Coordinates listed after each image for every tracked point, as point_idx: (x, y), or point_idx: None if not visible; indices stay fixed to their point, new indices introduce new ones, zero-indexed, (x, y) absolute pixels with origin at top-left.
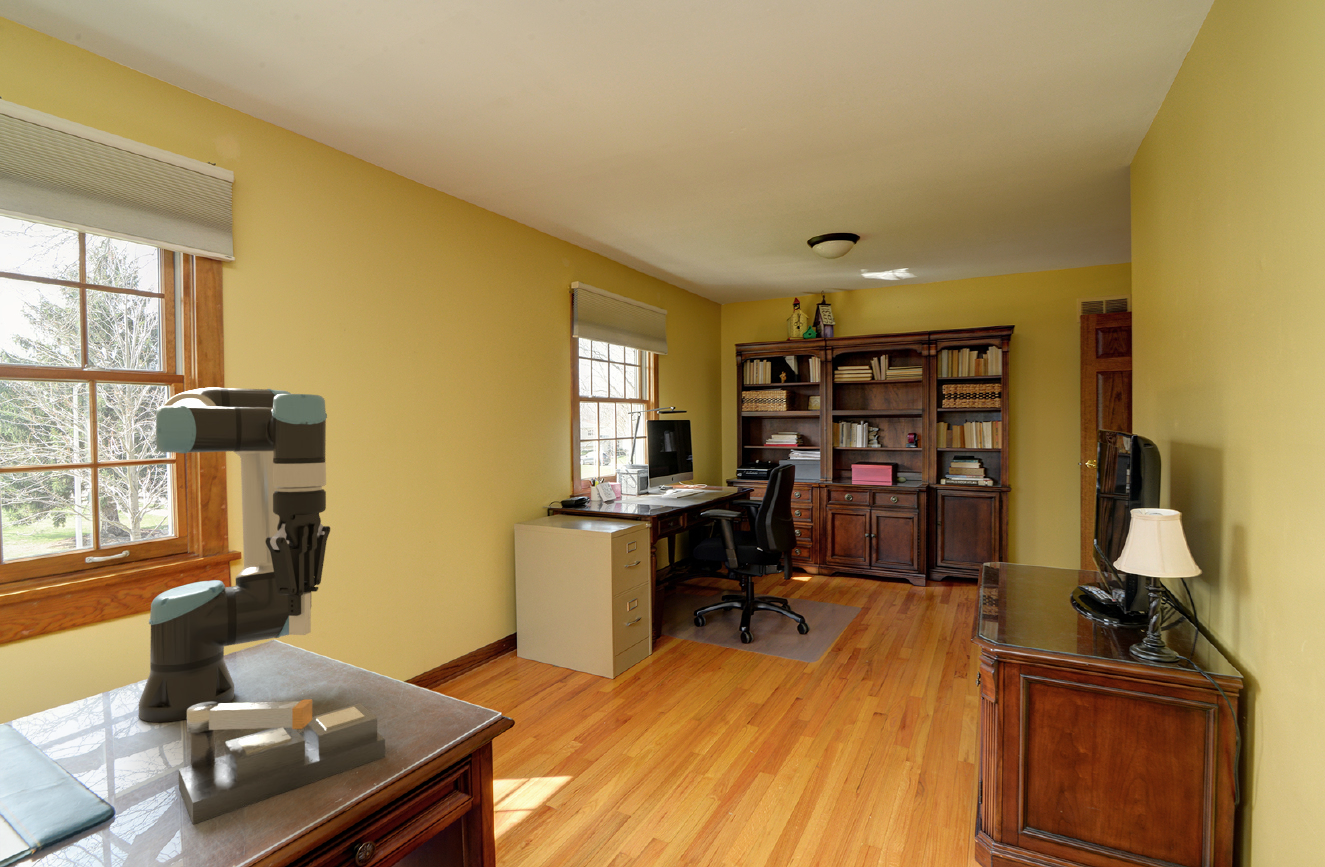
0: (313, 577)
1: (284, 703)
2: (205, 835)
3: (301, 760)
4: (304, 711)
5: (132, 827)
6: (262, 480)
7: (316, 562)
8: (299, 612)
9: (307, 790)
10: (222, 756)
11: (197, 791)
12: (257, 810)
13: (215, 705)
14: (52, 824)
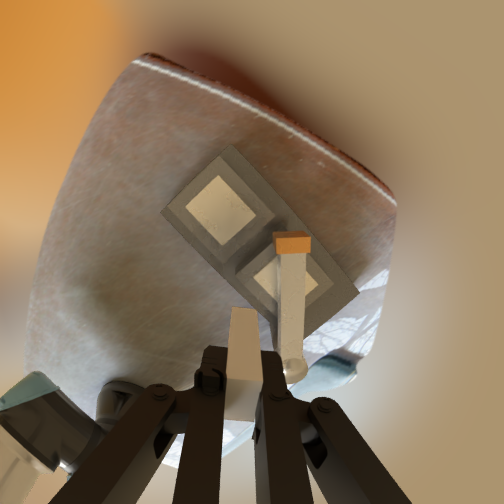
0: (194, 418)
1: (288, 275)
2: (367, 264)
3: (286, 227)
4: (302, 235)
5: (345, 330)
6: None
7: (136, 465)
8: (265, 355)
9: (302, 207)
10: (271, 322)
11: (341, 302)
12: (334, 240)
13: (286, 361)
14: (330, 383)
